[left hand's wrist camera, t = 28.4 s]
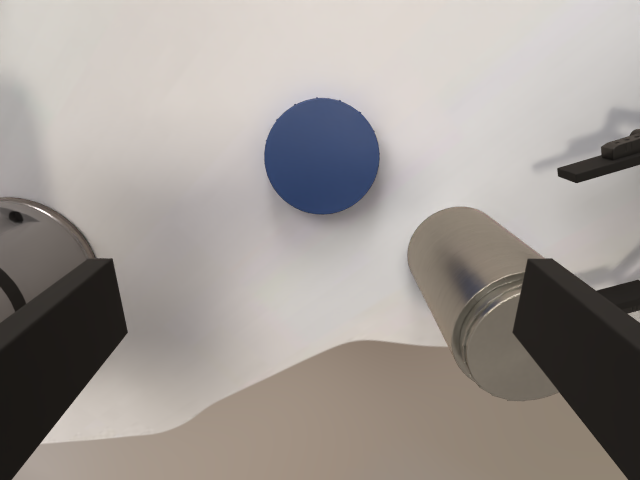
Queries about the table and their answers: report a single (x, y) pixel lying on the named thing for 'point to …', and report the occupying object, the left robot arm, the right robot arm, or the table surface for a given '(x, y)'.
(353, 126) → the lid
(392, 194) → the table surface
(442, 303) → the jar
